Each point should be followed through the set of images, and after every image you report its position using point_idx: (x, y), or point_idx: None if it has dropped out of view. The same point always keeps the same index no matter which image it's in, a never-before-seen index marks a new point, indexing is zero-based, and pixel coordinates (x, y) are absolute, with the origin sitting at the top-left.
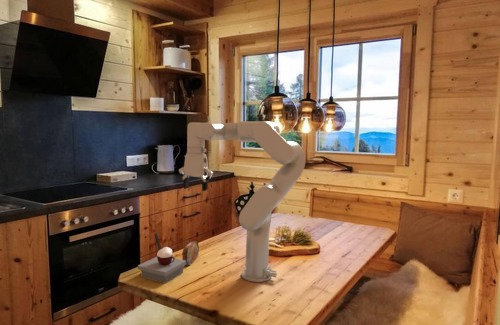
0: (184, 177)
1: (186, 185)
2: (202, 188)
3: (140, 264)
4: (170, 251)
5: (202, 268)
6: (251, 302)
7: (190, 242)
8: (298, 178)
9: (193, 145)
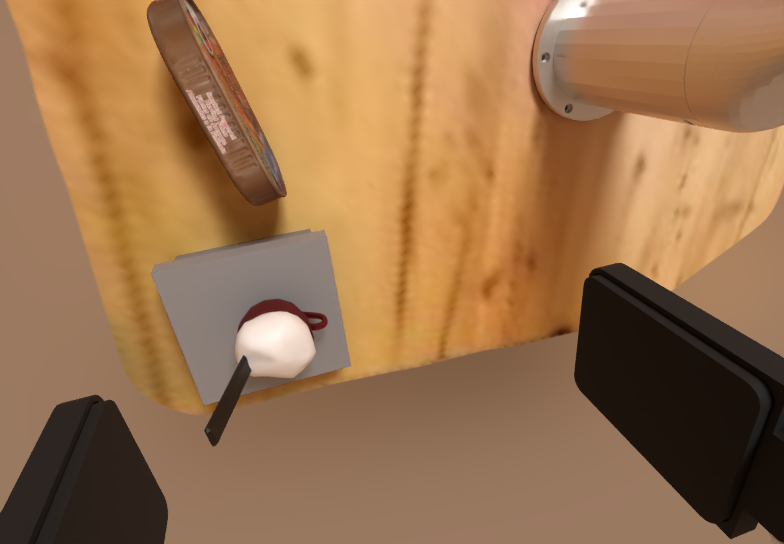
0: None
1: (137, 536)
2: (613, 415)
3: (201, 393)
4: (305, 342)
5: (346, 136)
6: (629, 239)
7: (184, 83)
8: None
9: None
